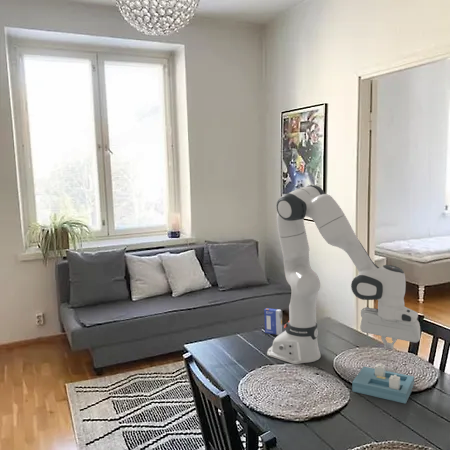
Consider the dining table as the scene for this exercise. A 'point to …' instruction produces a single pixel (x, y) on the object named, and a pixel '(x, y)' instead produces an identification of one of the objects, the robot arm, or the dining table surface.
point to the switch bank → (382, 385)
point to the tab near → (394, 382)
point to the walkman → (273, 321)
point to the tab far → (380, 370)
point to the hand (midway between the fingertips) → (388, 348)
